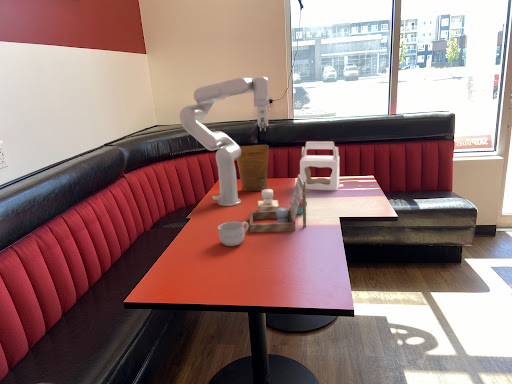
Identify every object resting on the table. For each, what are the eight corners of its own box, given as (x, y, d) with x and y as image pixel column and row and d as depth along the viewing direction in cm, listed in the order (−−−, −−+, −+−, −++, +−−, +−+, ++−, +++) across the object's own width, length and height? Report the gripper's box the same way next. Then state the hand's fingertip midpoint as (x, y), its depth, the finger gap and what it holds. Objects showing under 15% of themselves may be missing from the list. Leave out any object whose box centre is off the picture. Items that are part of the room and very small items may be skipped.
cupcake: (306, 215, 188) (306, 191, 185) (289, 215, 190) (288, 191, 186) (307, 209, 196) (307, 186, 193) (291, 209, 198) (290, 186, 194)
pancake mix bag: (269, 191, 231) (267, 145, 223) (238, 192, 234) (235, 146, 226) (270, 188, 237) (269, 143, 229) (240, 189, 240) (237, 144, 232)
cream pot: (262, 205, 190) (261, 192, 189) (262, 201, 196) (262, 189, 194) (273, 204, 190) (272, 191, 188) (273, 201, 195) (273, 188, 193)
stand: (258, 216, 189) (258, 207, 188) (258, 210, 199) (258, 201, 197) (279, 215, 189) (278, 206, 188) (277, 209, 199) (277, 200, 197)
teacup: (225, 251, 153) (223, 232, 151) (215, 241, 162) (213, 224, 160) (256, 243, 159) (255, 224, 157) (244, 234, 168) (243, 217, 166)
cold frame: (250, 232, 170) (247, 186, 164) (250, 218, 187) (248, 176, 182) (307, 229, 170) (306, 183, 164) (302, 216, 187) (301, 174, 181)
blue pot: (276, 225, 177) (276, 211, 175) (276, 221, 182) (275, 208, 180) (289, 224, 177) (288, 211, 175) (288, 220, 182) (287, 207, 180)
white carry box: (299, 189, 233) (299, 143, 226) (304, 183, 245) (303, 139, 238) (337, 190, 227) (337, 143, 219) (339, 184, 239) (340, 139, 231)
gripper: (269, 103, 182) (271, 139, 187) (268, 101, 199) (269, 135, 204) (253, 104, 182) (255, 140, 187) (254, 102, 199) (255, 135, 204)
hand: (263, 137), depth 195 cm, fingers open, 9 cm apart
